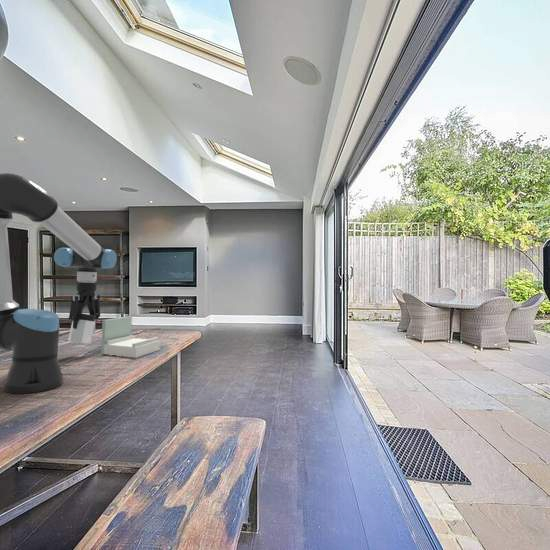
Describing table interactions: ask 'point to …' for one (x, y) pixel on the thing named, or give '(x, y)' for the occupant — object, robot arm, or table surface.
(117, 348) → the display stand
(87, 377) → the table surface
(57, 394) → the table surface
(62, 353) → the table surface
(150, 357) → the table surface
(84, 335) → the jar
